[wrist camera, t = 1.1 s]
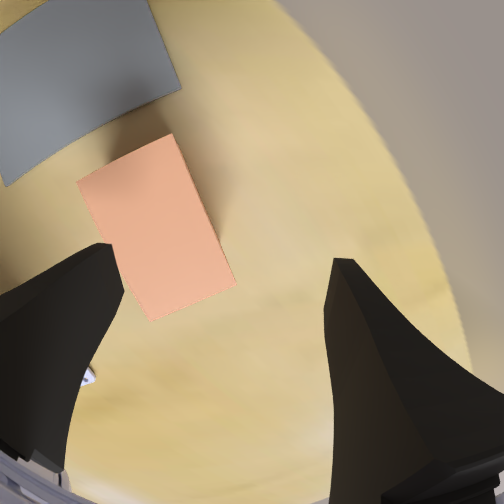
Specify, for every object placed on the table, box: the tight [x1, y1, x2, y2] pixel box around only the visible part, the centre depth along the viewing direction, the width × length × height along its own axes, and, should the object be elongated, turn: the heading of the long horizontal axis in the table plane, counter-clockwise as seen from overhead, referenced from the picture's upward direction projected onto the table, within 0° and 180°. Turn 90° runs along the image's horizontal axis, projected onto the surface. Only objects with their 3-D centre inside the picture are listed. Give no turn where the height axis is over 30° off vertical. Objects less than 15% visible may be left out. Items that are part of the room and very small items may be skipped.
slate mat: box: [0, 0, 181, 187], centre depth 14 cm, size 14×12×1 cm
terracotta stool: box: [76, 133, 237, 322], centre depth 16 cm, size 5×8×6 cm, turn 21°
